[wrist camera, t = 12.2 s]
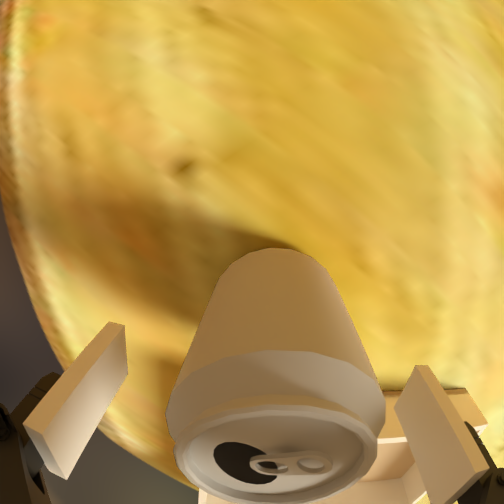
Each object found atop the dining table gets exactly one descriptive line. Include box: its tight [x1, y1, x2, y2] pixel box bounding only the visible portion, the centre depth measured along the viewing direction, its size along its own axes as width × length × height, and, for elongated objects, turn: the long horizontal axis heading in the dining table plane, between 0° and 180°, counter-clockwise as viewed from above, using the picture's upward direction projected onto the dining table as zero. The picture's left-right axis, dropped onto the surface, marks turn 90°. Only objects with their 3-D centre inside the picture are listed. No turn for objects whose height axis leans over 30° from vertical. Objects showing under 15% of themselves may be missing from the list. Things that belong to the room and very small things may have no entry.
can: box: [165, 248, 386, 504], centre depth 13 cm, size 8×8×12 cm
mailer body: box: [198, 388, 488, 504], centre depth 20 cm, size 14×22×5 cm, turn 81°
